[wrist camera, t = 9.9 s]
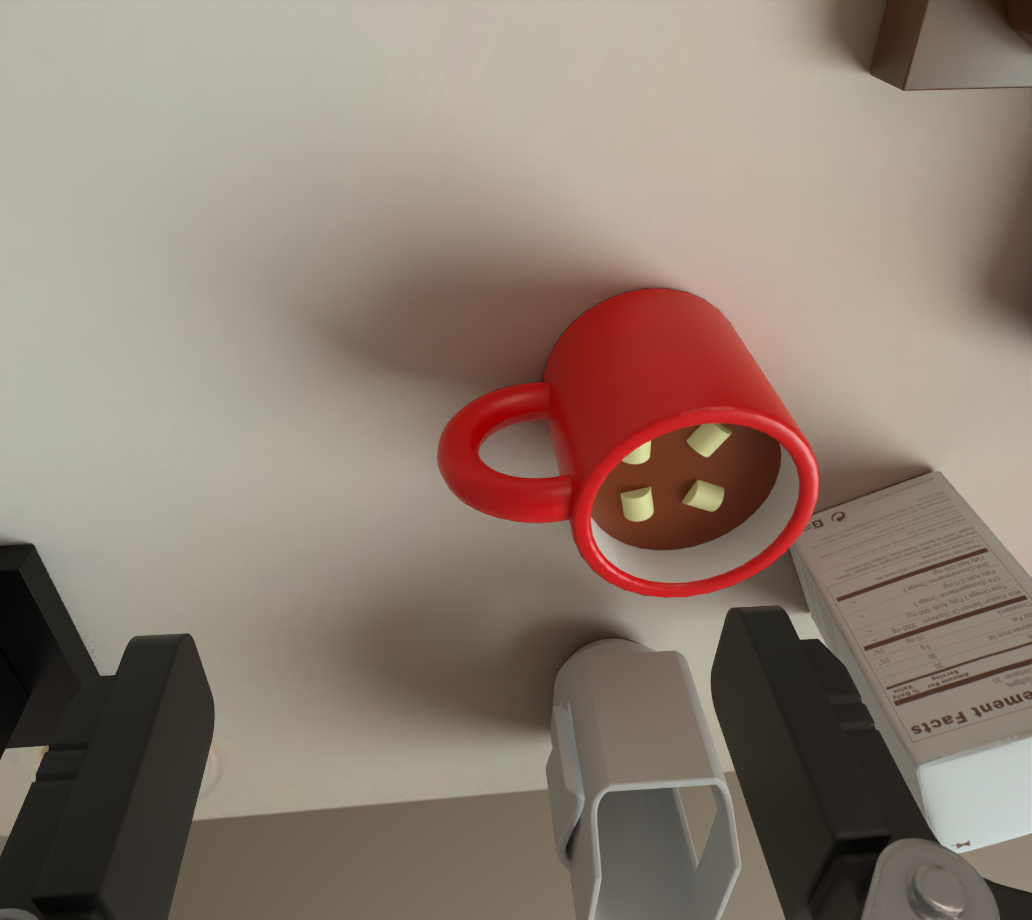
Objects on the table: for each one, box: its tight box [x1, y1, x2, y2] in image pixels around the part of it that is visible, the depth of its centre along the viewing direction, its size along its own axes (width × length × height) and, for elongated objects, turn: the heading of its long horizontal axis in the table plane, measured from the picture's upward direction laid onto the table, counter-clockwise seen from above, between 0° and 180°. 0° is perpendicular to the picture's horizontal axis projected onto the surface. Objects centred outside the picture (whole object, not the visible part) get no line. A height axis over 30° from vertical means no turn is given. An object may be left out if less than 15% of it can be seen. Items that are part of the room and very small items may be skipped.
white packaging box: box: [789, 471, 1032, 853], centre depth 33 cm, size 7×7×13 cm
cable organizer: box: [546, 638, 741, 920], centre depth 37 cm, size 7×12×12 cm, turn 178°
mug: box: [437, 289, 820, 598], centre depth 28 cm, size 8×12×8 cm, turn 93°
